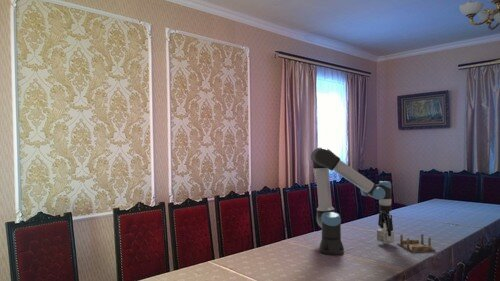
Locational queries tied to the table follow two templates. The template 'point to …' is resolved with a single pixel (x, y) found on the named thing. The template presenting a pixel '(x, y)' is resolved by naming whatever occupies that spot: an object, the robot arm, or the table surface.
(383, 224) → the container
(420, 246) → the tray
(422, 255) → the table surface
